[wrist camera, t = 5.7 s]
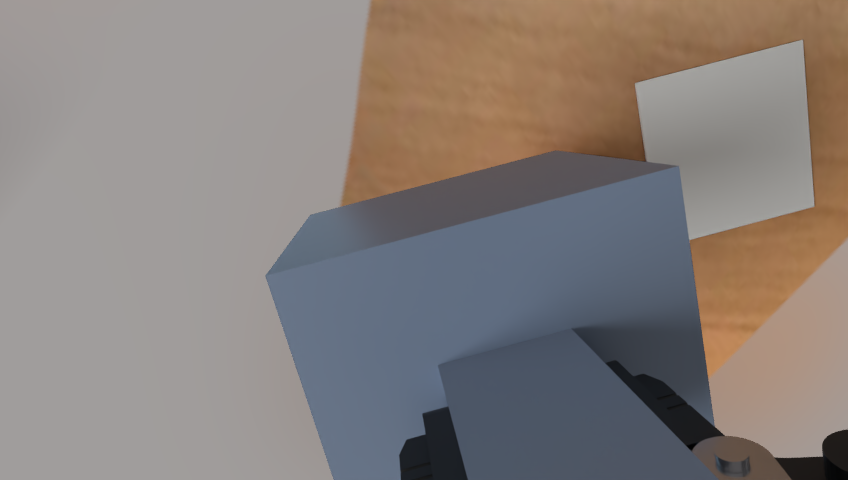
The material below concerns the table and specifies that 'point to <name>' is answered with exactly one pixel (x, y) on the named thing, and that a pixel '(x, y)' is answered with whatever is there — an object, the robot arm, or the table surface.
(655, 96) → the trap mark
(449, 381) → the cover
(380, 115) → the table surface
